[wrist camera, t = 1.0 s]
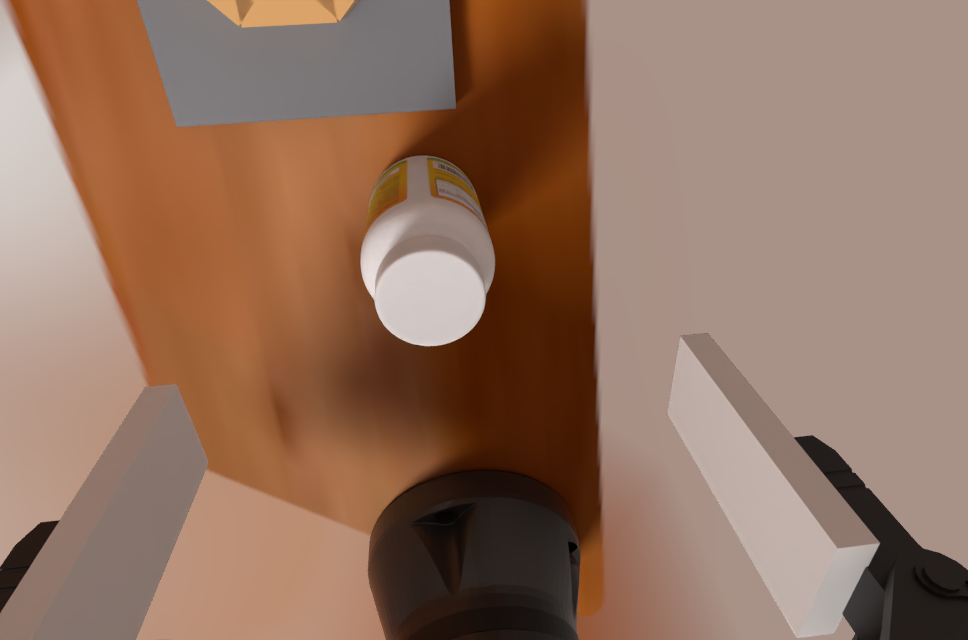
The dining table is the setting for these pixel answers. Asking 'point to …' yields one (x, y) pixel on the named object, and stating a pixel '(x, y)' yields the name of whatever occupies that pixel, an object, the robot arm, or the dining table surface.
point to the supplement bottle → (427, 251)
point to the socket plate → (300, 58)
